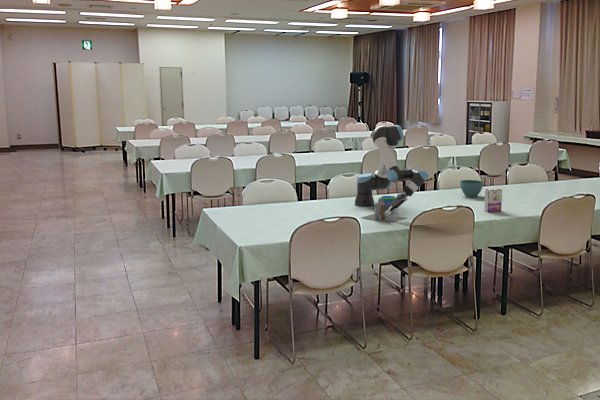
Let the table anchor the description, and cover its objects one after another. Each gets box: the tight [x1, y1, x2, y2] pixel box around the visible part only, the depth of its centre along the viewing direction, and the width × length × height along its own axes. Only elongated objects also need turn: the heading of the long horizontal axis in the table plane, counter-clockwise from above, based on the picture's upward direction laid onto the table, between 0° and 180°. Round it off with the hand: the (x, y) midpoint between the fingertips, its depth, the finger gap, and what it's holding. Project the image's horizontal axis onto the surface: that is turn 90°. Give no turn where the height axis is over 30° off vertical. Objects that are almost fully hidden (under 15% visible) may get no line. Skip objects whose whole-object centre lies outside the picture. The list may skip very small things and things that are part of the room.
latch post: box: [374, 201, 380, 220], centre depth 391 cm, size 5×3×12 cm, turn 172°
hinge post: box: [379, 197, 384, 215], centre depth 406 cm, size 5×5×12 cm
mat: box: [360, 213, 407, 224], centre depth 398 cm, size 24×20×1 cm
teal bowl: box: [459, 179, 484, 198], centre depth 470 cm, size 18×18×12 cm
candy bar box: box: [484, 187, 503, 213], centre depth 415 cm, size 11×5×16 cm, turn 105°
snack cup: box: [377, 195, 396, 212], centre depth 421 cm, size 16×10×10 cm
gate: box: [381, 204, 386, 220], centre depth 397 cm, size 14×2×10 cm, turn 175°
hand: (386, 214), depth 392 cm, fingers closed
